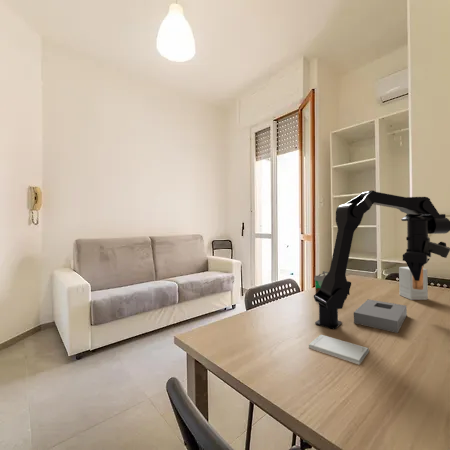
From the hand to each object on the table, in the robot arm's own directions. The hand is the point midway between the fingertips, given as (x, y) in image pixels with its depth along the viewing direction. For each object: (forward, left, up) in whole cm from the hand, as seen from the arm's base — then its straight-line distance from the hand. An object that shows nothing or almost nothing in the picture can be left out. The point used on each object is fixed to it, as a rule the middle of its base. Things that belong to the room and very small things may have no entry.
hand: (417, 279), depth 88 cm
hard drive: (-40, +13, -14) cm, 44 cm away
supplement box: (+26, +4, -13) cm, 29 cm away
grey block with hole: (-10, +9, -13) cm, 19 cm away
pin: (0, 0, -3) cm, 3 cm away
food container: (+5, +33, -13) cm, 36 cm away
